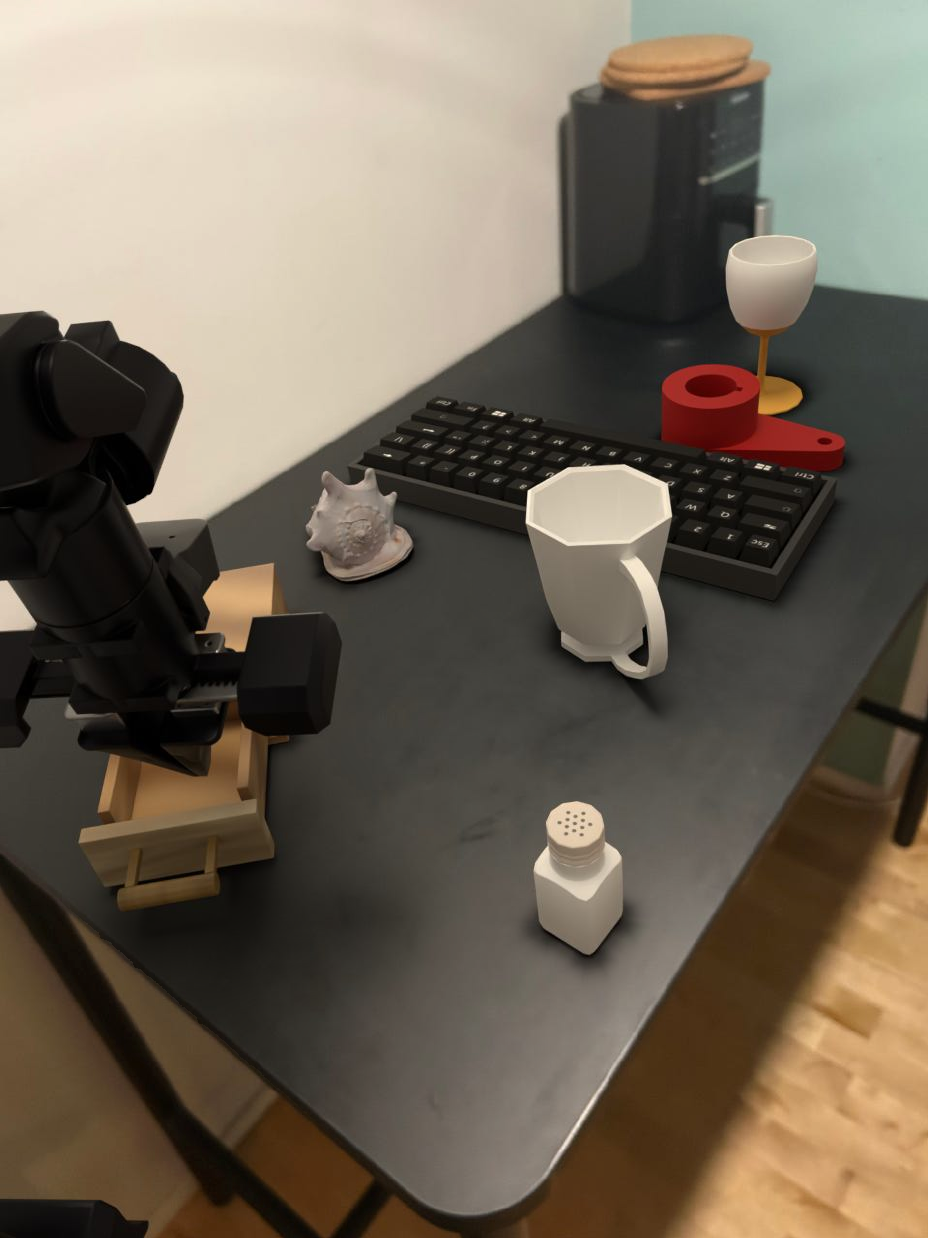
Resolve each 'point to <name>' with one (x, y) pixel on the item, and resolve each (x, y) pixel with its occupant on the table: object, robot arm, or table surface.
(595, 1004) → the table surface
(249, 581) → the cabinet
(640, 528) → the cup
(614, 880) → the pepper shaker
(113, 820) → the drawer
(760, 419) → the lever
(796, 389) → the cup
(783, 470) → the computer keyboard
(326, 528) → the seashell
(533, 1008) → the table surface
